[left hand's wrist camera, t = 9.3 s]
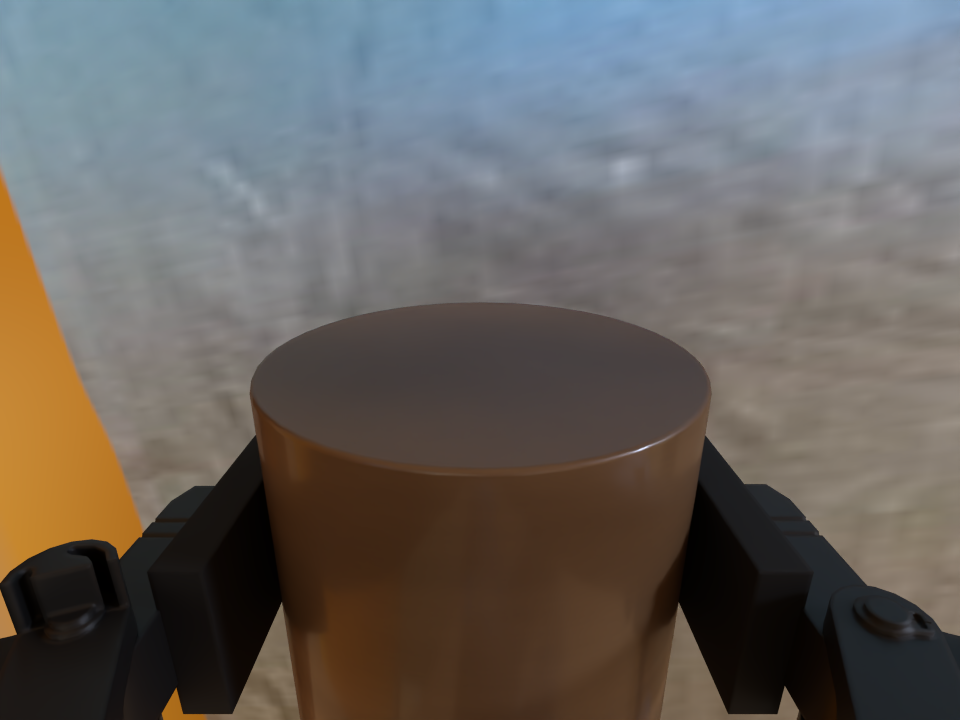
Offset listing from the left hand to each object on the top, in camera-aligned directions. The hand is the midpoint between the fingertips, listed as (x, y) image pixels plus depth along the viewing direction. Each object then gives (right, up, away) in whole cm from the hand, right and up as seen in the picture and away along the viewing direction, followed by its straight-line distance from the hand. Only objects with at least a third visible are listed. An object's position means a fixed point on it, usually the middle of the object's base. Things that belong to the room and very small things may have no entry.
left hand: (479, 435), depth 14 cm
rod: (0, -9, +4) cm, 9 cm away
